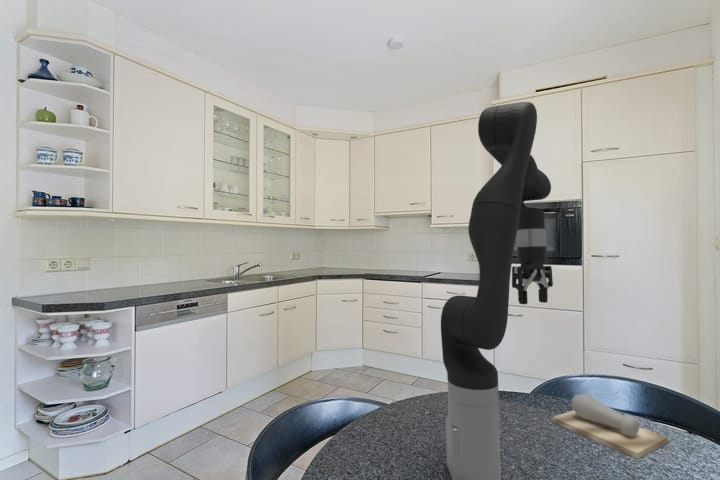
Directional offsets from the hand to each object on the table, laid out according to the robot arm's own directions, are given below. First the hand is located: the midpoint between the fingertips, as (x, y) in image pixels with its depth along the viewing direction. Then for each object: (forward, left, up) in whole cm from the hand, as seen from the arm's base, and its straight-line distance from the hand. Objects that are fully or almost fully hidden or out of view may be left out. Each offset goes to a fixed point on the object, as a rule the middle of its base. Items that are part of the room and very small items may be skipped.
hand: (533, 303), depth 97 cm
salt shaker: (+6, -8, -24) cm, 26 cm away
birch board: (+9, -14, -28) cm, 33 cm away
